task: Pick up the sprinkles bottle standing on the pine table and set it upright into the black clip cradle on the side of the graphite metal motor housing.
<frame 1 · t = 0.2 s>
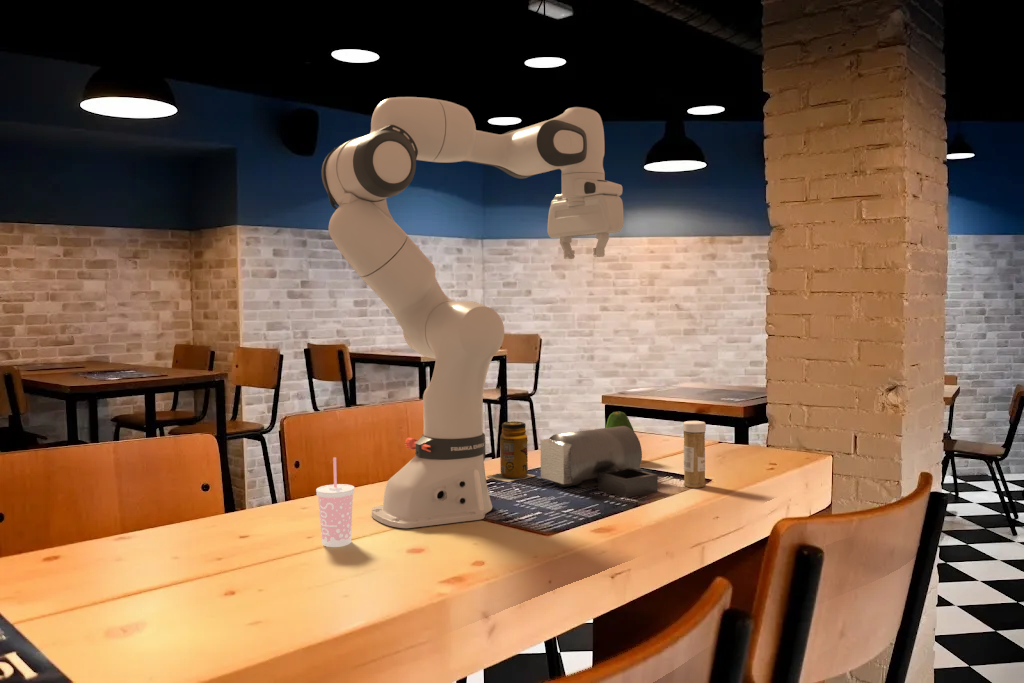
hand: (583, 258, 168), 48 cm above the table, fingers open, 8 cm apart
condiment: (510, 478, 181), on the table
sprinkles bottle: (694, 486, 170), on the table
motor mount: (608, 485, 172), on the table
avocado: (620, 461, 197), on the table
beverage cup: (336, 543, 133), on the table
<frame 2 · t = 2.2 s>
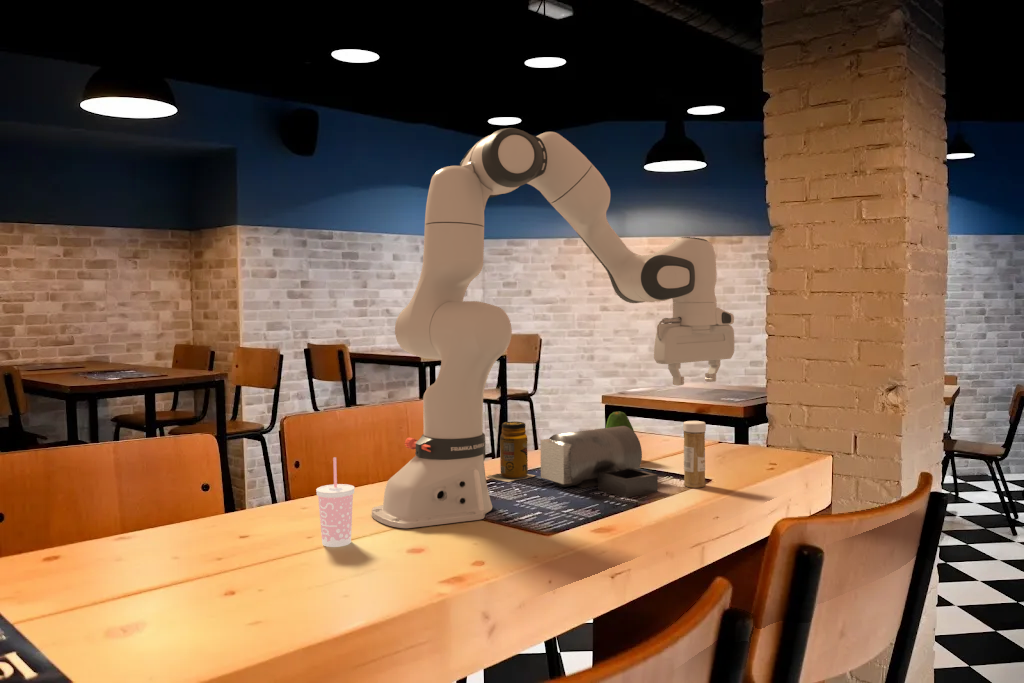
hand: (694, 383, 169), 21 cm above the table, fingers open, 8 cm apart
nothing on the table moved.
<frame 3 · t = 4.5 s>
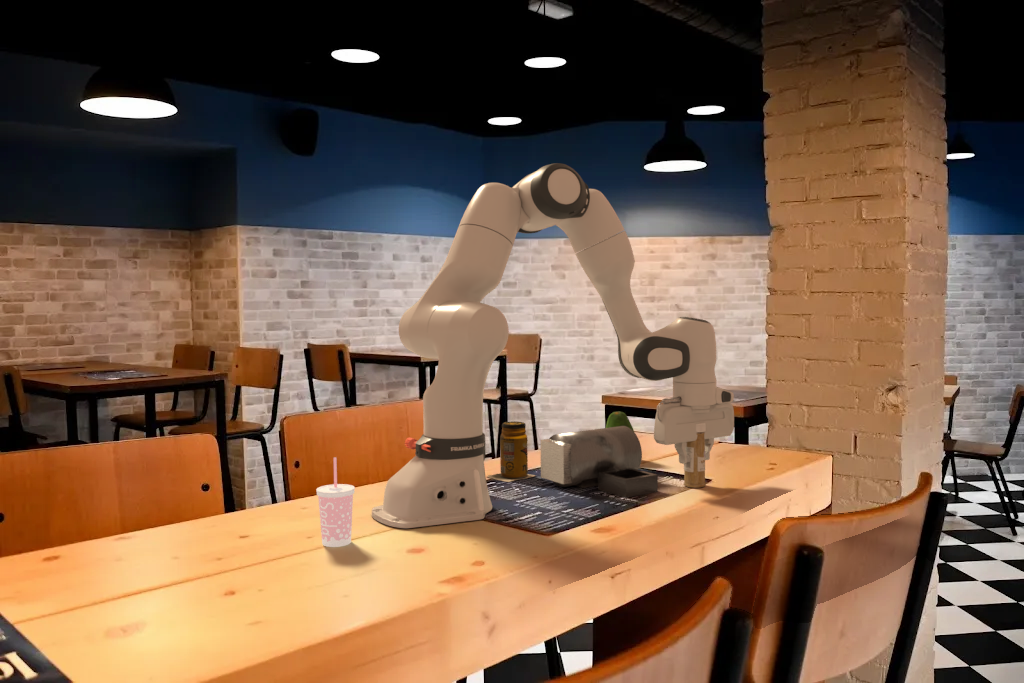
hand: (694, 461, 170), 5 cm above the table, fingers closed on sprinkles bottle, 4 cm apart
sprinkles bottle: (694, 486, 170), on the table, touching gripper
everything else where it was.
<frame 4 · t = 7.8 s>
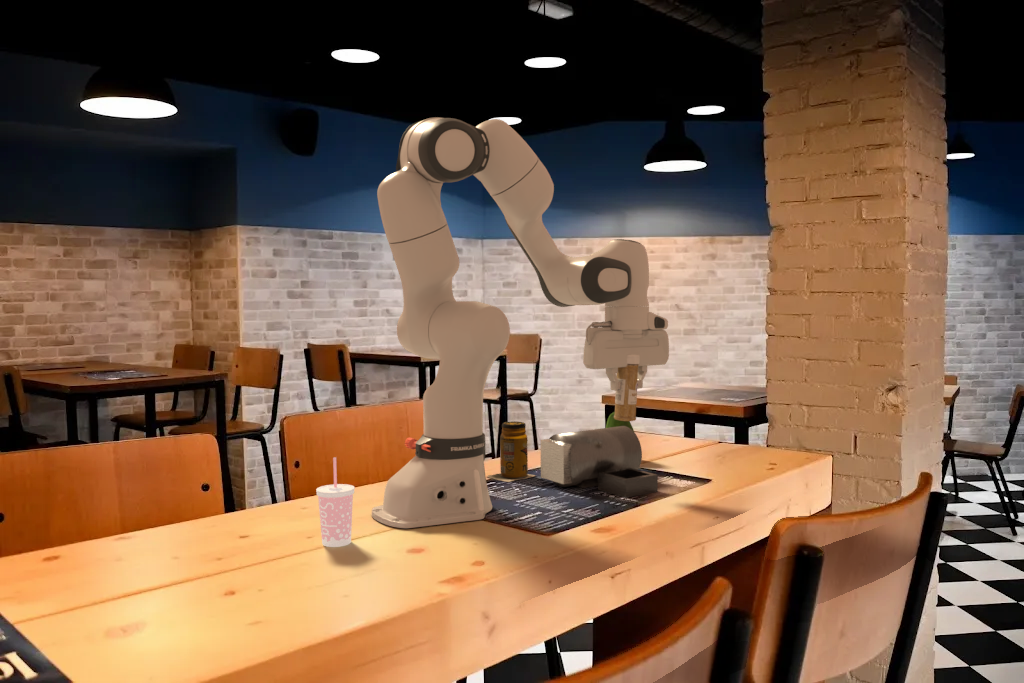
hand: (626, 389, 166), 21 cm above the table, fingers closed on sprinkles bottle, 4 cm apart
sprinkles bottle: (624, 421, 166), point 14 cm above the table, touching gripper
everything else where it was.
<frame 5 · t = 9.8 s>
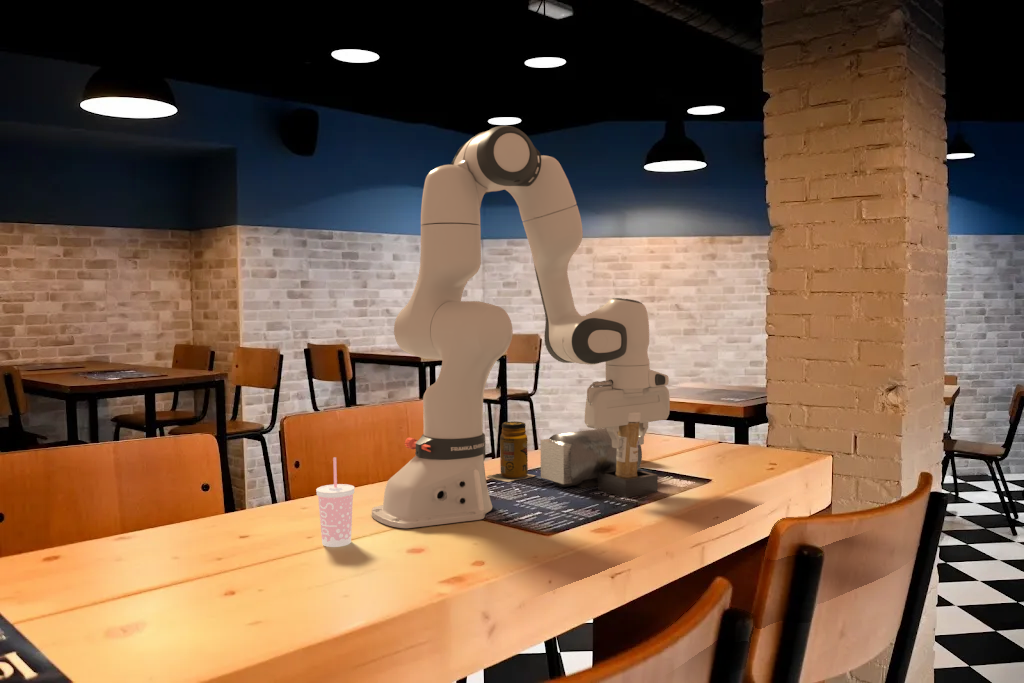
hand: (628, 446, 166), 9 cm above the table, fingers closed on sprinkles bottle, 4 cm apart
sprinkles bottle: (626, 477, 167), point 3 cm above the table, touching gripper
everything else where it was.
when the fingers open (7 cm above the table, at t = 11.2 s): sprinkles bottle stays where it is, resting in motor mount.
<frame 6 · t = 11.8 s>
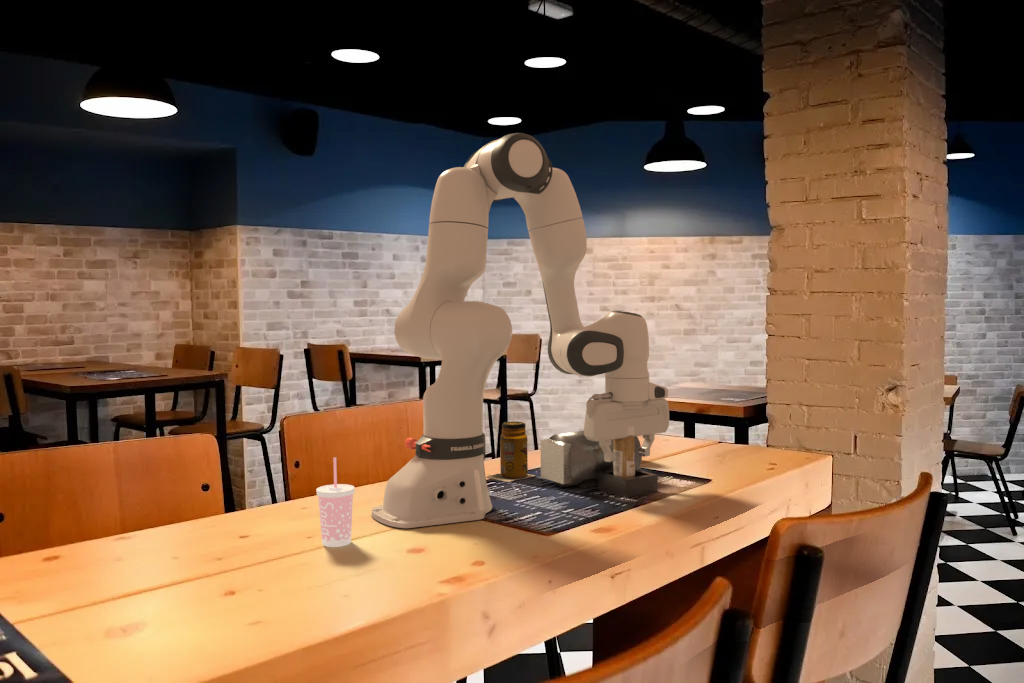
hand: (627, 458, 166), 7 cm above the table, fingers open, 8 cm apart
sprinkles bottle: (624, 492, 166), resting in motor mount
everything else where it was.
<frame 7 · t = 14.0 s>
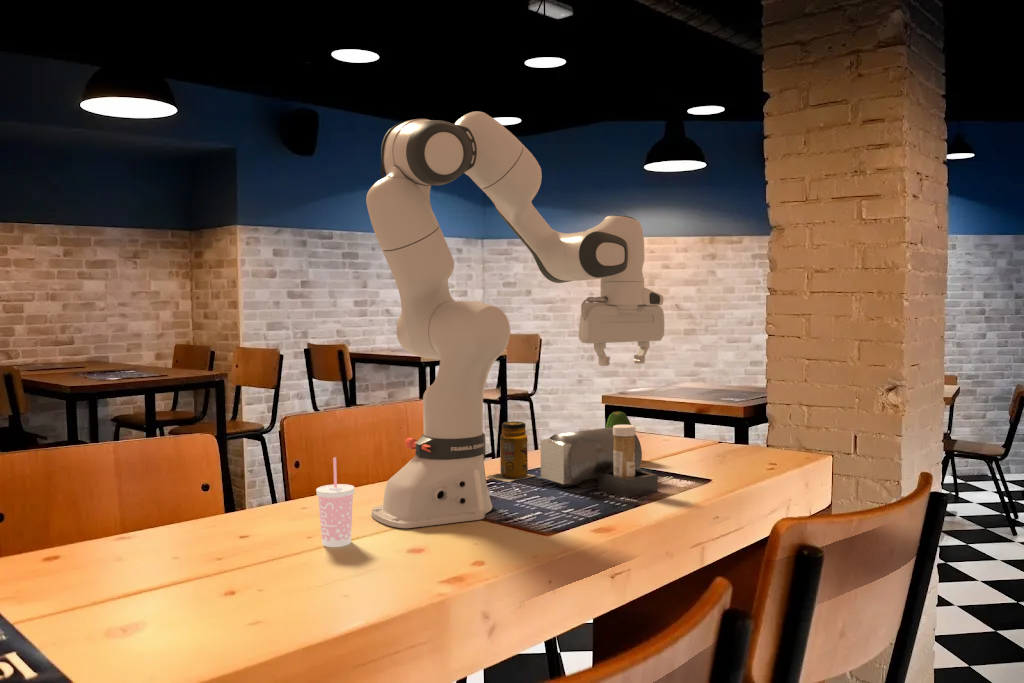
hand: (622, 364, 167), 26 cm above the table, fingers open, 8 cm apart
nothing on the table moved.
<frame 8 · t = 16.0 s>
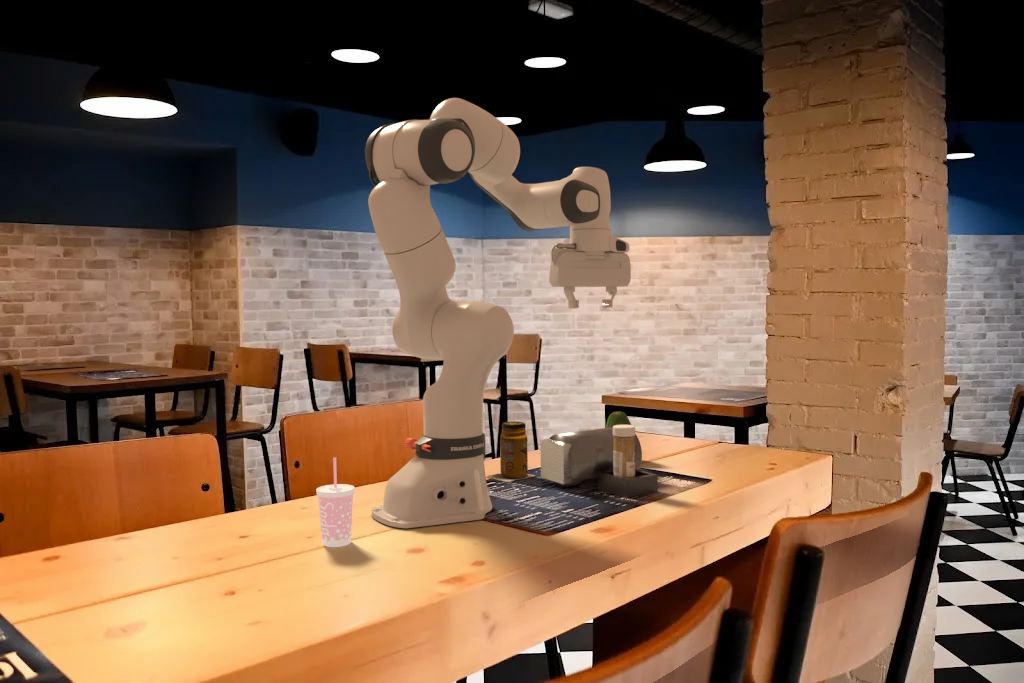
hand: (590, 308, 178), 37 cm above the table, fingers open, 8 cm apart
nothing on the table moved.
at the end: sprinkles bottle 0.9 cm from the target spot on the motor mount, point 0.0 cm above the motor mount's base; sprinkles bottle tilted 0°; the gripper is holding nothing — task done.
